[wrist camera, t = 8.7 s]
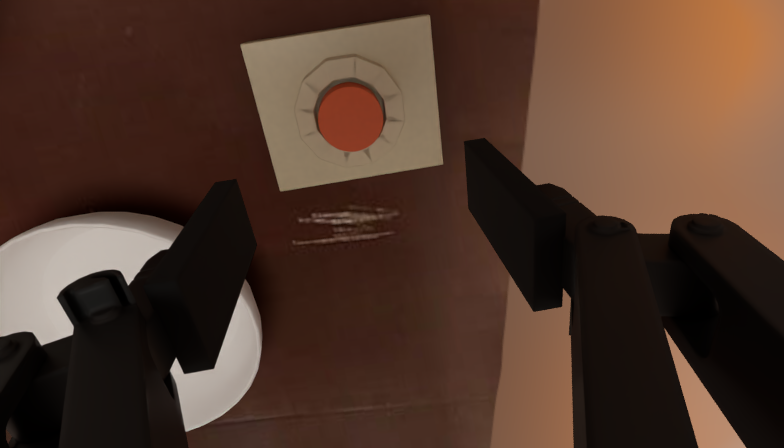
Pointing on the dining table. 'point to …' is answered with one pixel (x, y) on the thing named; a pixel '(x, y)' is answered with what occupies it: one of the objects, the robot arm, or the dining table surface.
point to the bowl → (128, 254)
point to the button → (350, 117)
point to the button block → (338, 65)
